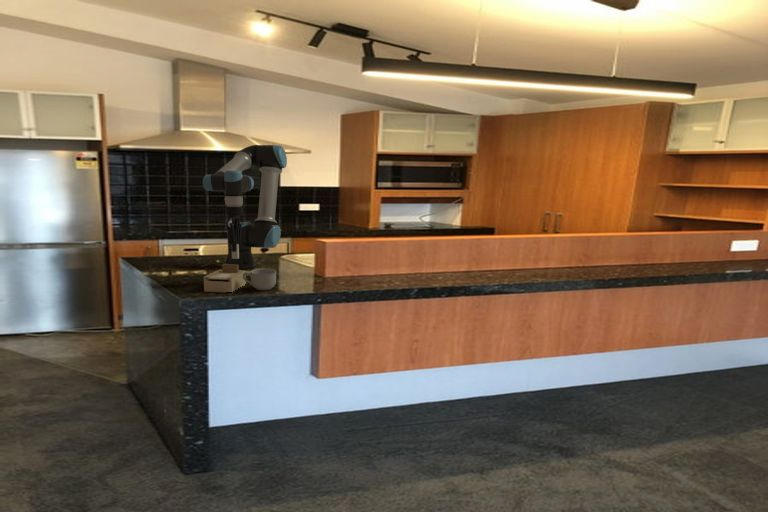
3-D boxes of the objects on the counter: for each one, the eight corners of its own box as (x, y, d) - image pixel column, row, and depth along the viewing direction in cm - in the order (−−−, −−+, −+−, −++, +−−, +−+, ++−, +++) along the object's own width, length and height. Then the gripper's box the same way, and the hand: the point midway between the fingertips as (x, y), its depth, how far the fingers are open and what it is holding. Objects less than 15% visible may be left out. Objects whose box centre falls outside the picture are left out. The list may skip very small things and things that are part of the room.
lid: (221, 272, 234) (220, 263, 233) (242, 273, 233) (242, 264, 232) (207, 278, 220) (207, 269, 220) (229, 279, 219) (229, 270, 219)
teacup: (278, 286, 232) (278, 268, 231) (274, 291, 222) (274, 273, 220) (246, 285, 232) (246, 268, 231) (240, 291, 221) (240, 273, 220)
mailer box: (220, 283, 236) (219, 269, 235) (246, 284, 235) (245, 270, 234) (204, 291, 220) (203, 276, 219) (231, 292, 219) (231, 277, 218)
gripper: (231, 204, 240) (233, 255, 244) (219, 206, 227) (221, 260, 231) (247, 205, 239) (248, 256, 243) (236, 206, 227) (237, 261, 230)
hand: (235, 258), depth 237 cm, fingers closed
